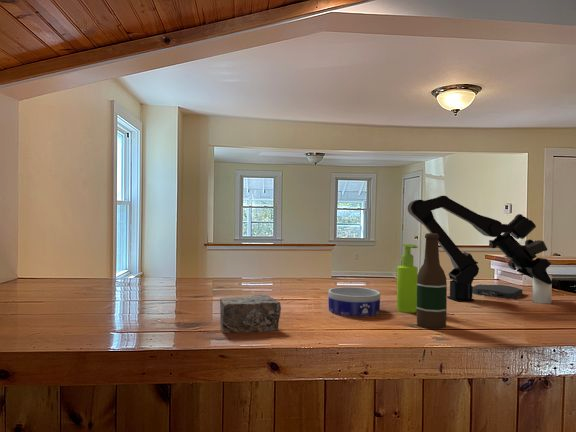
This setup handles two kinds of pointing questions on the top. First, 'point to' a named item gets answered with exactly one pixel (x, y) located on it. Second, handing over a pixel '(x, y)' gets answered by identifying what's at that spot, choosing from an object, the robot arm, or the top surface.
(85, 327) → the top surface
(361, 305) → the dog bowl
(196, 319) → the top surface
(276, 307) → the stone block
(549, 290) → the bottle
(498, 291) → the media streaming box
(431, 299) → the beer bottle
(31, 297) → the top surface
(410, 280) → the soap dispenser
